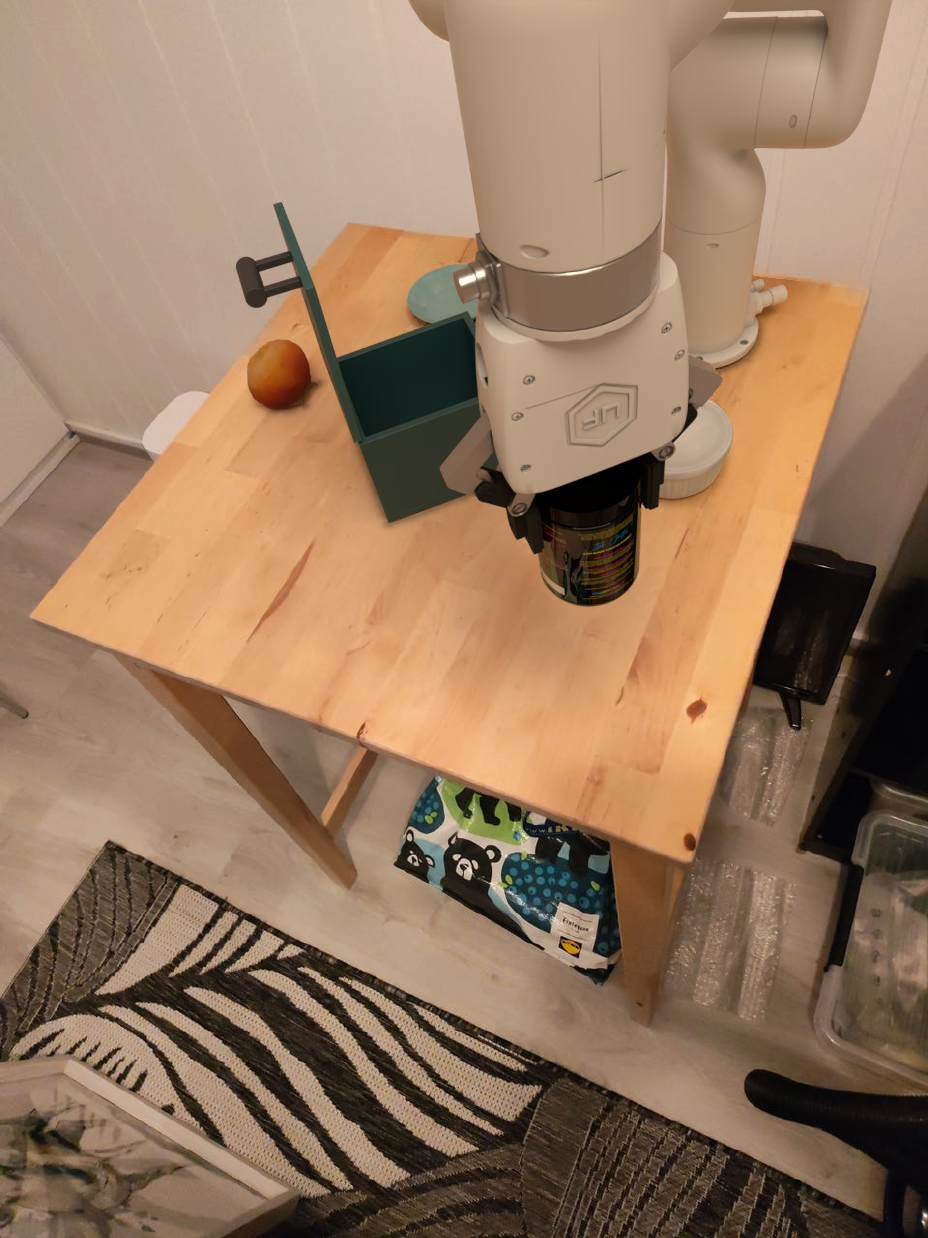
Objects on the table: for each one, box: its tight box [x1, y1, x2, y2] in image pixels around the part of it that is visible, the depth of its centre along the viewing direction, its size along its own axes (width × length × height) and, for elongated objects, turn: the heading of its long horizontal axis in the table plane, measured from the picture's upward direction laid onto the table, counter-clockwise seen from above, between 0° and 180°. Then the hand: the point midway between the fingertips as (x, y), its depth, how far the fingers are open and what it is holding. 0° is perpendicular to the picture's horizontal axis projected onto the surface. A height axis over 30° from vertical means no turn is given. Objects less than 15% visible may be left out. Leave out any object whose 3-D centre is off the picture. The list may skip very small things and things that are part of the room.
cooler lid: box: [235, 201, 362, 444], centre depth 72 cm, size 16×14×6 cm
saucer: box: [406, 263, 478, 324], centre depth 102 cm, size 12×12×2 cm
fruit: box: [246, 339, 317, 410], centre depth 97 cm, size 8×8×8 cm
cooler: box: [336, 311, 499, 524], centre depth 85 cm, size 16×14×12 cm
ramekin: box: [659, 398, 734, 500], centre depth 81 cm, size 11×11×5 cm
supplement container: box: [533, 455, 644, 608], centre depth 50 cm, size 7×7×10 cm
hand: (586, 513), depth 49 cm, fingers closed on supplement container, 6 cm apart
